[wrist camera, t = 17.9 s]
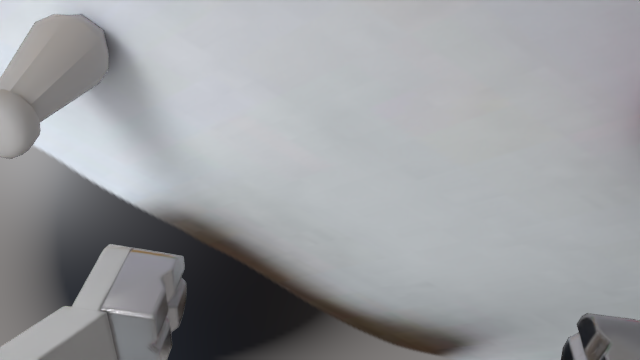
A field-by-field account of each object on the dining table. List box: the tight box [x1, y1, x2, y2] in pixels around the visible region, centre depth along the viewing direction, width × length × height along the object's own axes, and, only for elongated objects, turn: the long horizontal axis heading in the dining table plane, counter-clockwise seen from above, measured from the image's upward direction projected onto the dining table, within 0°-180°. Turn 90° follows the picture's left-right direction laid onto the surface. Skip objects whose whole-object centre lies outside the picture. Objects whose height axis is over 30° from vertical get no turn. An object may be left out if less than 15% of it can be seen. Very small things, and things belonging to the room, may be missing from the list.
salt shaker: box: [0, 14, 109, 159], centre depth 39 cm, size 6×6×13 cm
